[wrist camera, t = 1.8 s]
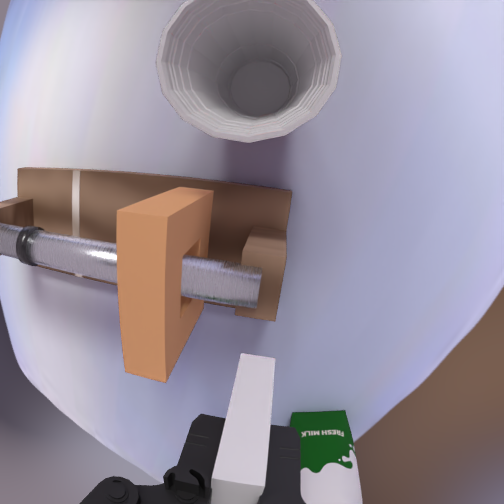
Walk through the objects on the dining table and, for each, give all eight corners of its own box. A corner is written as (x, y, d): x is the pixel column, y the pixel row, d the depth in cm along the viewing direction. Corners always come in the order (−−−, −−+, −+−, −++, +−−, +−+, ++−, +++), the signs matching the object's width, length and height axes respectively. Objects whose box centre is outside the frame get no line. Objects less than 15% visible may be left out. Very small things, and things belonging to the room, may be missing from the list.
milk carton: (352, 404, 36) (375, 541, 17) (343, 445, 39) (355, 563, 20) (285, 407, 37) (277, 548, 18) (284, 447, 40) (276, 567, 21)
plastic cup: (230, 165, 29) (195, 173, 17) (186, 67, 26) (131, 26, 15) (339, 121, 27) (374, 102, 15) (291, 23, 24) (292, -43, 13)
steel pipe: (-8, 214, 25) (-31, 222, 22) (264, 256, 24) (261, 273, 20) (-5, 245, 26) (-27, 255, 23) (258, 298, 25) (254, 321, 21)
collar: (179, 186, 26) (116, 210, 16) (213, 190, 26) (167, 217, 16) (173, 302, 30) (125, 372, 19) (203, 308, 30) (166, 382, 19)
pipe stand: (25, 167, 31) (-27, 177, 22) (291, 190, 29) (294, 206, 20) (29, 258, 35) (-17, 283, 26) (272, 306, 33) (268, 358, 24)
